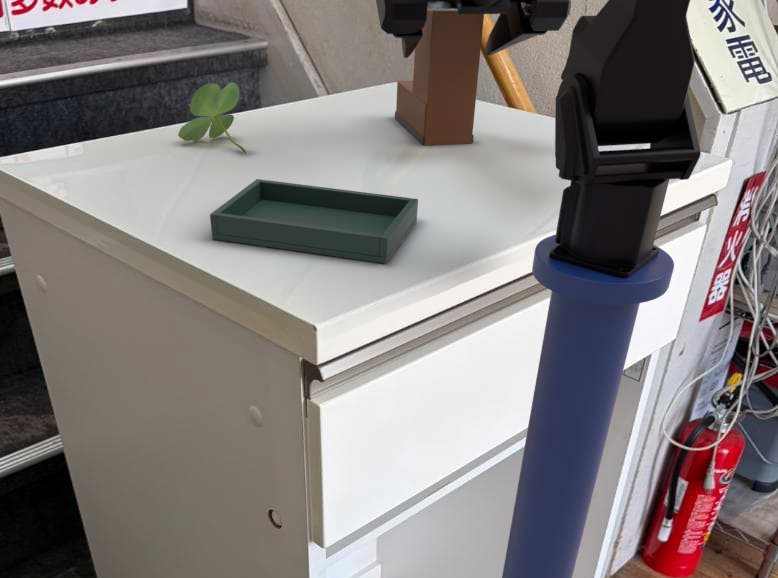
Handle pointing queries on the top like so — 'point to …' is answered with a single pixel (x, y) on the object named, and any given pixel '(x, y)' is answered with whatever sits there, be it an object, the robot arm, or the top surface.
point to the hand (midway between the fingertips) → (446, 52)
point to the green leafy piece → (211, 112)
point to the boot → (443, 80)
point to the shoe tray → (316, 220)
